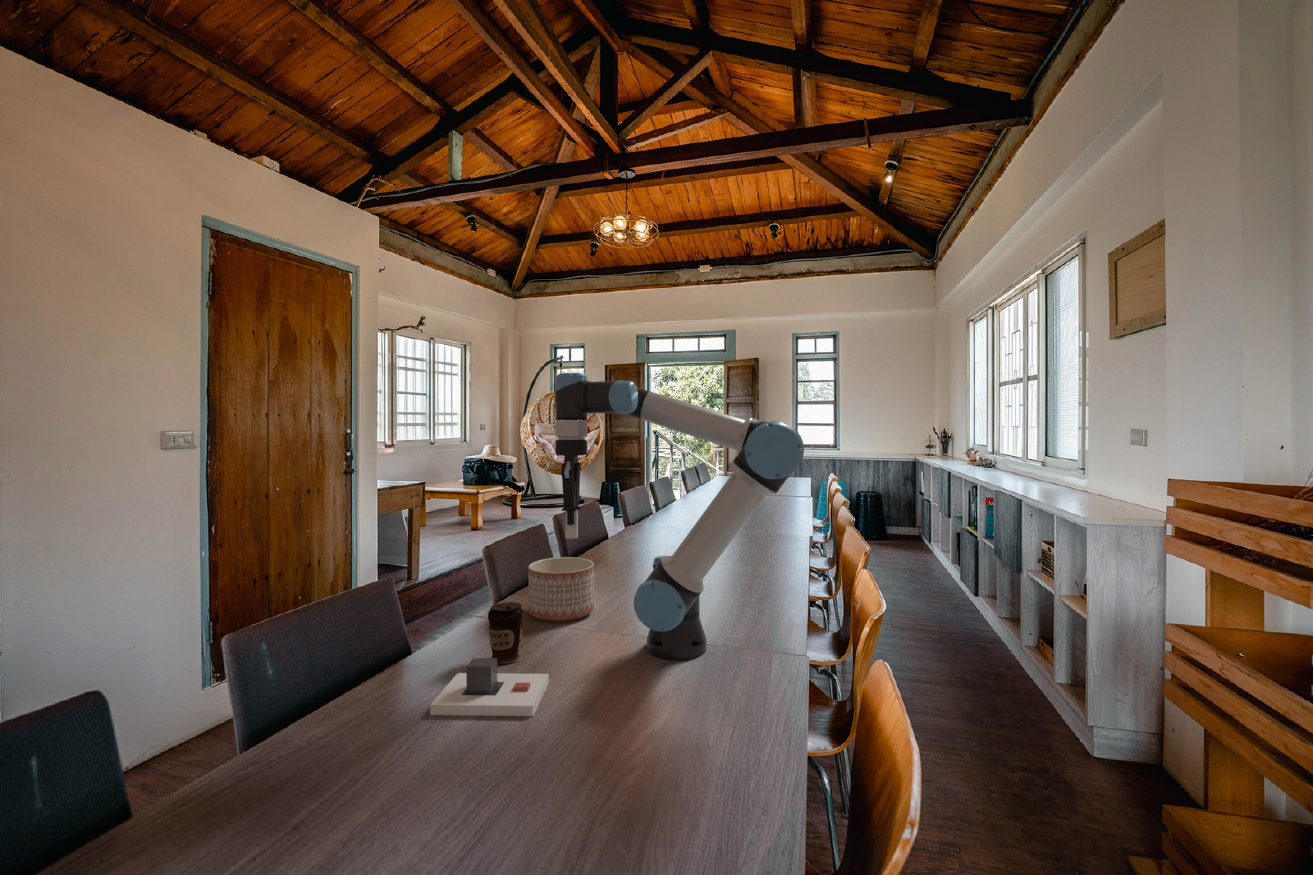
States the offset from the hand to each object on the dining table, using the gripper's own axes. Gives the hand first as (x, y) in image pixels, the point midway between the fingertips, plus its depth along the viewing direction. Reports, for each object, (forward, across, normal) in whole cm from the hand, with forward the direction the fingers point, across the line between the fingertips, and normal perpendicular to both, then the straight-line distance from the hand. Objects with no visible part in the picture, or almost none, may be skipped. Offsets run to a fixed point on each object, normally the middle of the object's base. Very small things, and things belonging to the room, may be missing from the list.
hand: (571, 537), depth 133 cm
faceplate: (+29, +19, -13) cm, 37 cm away
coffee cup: (+30, 0, -16) cm, 34 cm away
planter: (+30, -33, -9) cm, 45 cm away
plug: (+29, +19, -15) cm, 38 cm away
